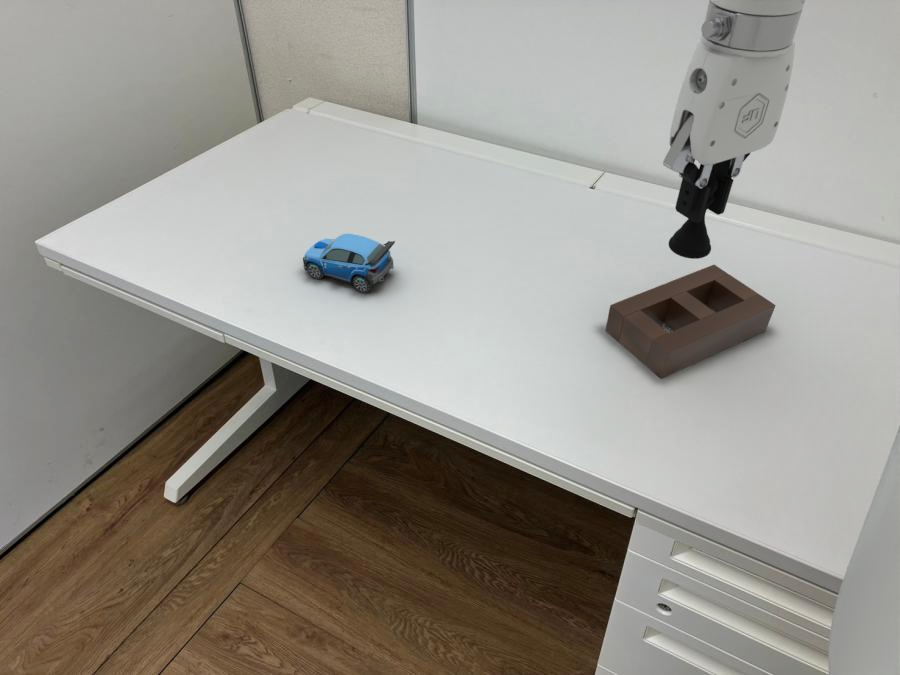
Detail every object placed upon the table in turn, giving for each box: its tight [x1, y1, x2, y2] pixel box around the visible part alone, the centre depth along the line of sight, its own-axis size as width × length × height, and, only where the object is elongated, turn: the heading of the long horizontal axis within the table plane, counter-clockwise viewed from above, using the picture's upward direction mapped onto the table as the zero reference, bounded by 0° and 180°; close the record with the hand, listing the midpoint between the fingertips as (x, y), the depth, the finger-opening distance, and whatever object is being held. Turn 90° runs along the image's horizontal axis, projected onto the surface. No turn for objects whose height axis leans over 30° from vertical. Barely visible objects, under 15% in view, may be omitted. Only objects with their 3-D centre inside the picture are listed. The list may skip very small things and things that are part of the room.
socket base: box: [605, 264, 776, 380], centre depth 84 cm, size 10×17×4 cm, turn 120°
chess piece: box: [668, 164, 718, 260], centre depth 72 cm, size 4×4×10 cm
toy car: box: [302, 233, 396, 294], centre depth 92 cm, size 6×12×6 cm, turn 66°
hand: (699, 210), depth 73 cm, fingers closed on chess piece, 2 cm apart
